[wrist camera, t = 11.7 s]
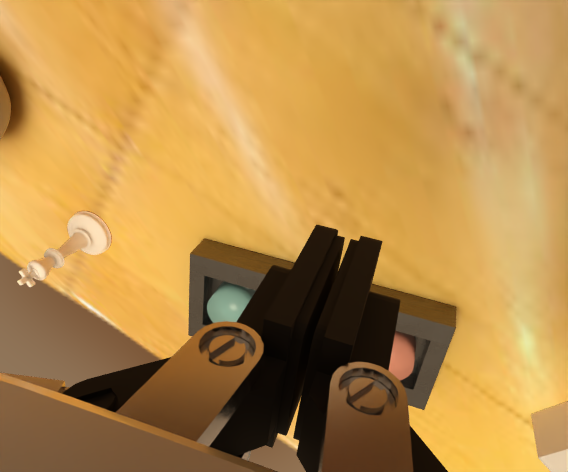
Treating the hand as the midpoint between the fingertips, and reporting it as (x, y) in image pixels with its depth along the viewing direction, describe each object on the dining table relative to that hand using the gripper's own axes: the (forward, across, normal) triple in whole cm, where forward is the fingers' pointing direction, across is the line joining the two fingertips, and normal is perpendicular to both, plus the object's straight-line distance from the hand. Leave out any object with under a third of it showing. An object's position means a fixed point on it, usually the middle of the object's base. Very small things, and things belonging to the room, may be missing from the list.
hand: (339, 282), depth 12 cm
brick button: (+26, -3, +23) cm, 35 cm away
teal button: (+26, +11, +23) cm, 37 cm away
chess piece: (+27, +29, +21) cm, 45 cm away
